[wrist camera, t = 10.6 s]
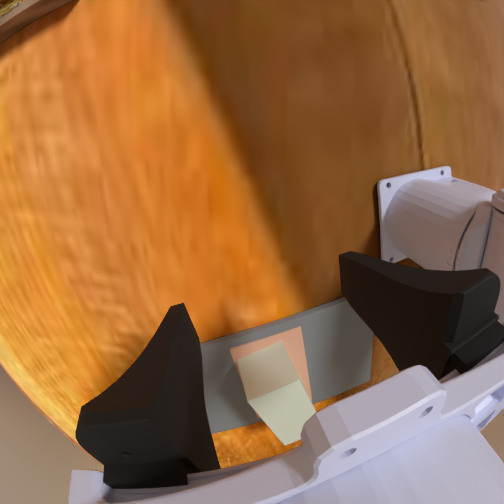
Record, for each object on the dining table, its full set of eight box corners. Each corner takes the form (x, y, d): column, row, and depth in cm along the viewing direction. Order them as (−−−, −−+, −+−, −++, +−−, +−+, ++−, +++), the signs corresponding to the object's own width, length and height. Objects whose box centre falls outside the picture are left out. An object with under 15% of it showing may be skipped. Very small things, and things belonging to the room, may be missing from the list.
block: (308, 395, 29) (324, 428, 25) (273, 411, 29) (284, 445, 25) (281, 340, 25) (299, 379, 21) (237, 359, 25) (247, 401, 21)
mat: (371, 286, 26) (375, 289, 25) (367, 377, 32) (370, 380, 31) (144, 356, 24) (144, 362, 23) (197, 432, 30) (197, 437, 29)
